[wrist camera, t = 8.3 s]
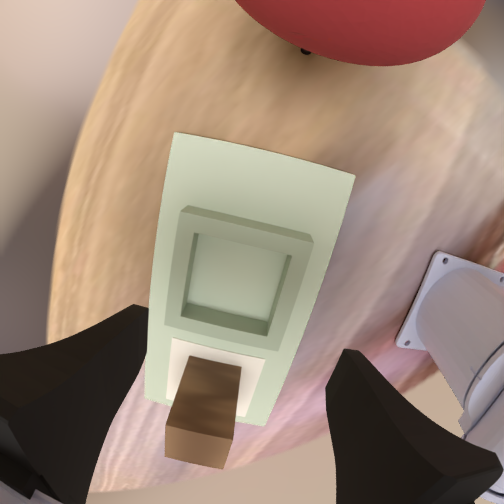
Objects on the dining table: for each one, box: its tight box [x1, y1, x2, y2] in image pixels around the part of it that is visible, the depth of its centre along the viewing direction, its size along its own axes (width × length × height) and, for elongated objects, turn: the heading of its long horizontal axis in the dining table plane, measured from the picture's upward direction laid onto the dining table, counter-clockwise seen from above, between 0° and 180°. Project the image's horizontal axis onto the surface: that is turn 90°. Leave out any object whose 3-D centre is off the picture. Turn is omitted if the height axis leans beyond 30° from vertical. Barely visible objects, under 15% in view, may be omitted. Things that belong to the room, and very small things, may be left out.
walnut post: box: [165, 355, 242, 469], centre depth 20 cm, size 4×4×7 cm
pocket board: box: [145, 132, 356, 426], centre depth 20 cm, size 11×22×2 cm, turn 167°
